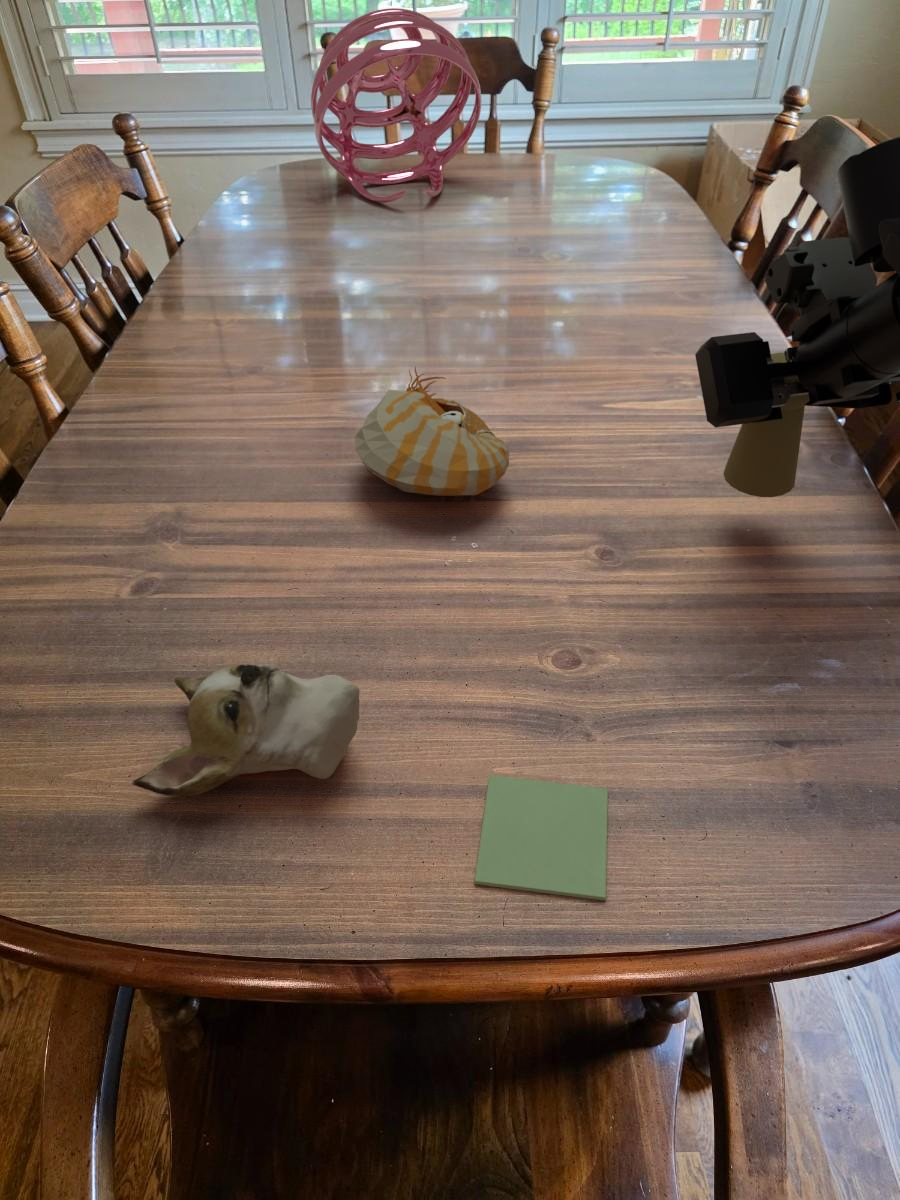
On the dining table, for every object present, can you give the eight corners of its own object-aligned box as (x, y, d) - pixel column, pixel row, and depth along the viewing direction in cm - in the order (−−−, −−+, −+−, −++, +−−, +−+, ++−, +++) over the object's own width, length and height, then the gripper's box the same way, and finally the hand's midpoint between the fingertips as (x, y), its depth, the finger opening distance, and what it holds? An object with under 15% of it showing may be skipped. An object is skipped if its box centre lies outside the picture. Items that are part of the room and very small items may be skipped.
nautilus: (372, 413, 97) (506, 421, 97) (342, 518, 80) (505, 529, 80) (371, 344, 92) (512, 353, 92) (339, 442, 75) (512, 453, 75)
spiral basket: (494, 86, 125) (445, -60, 131) (310, 148, 127) (271, 1, 133) (506, 208, 152) (466, 82, 158) (355, 257, 155) (321, 131, 160)
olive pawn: (709, 468, 77) (733, 352, 70) (763, 452, 79) (792, 337, 71) (754, 504, 73) (785, 384, 65) (810, 486, 75) (846, 367, 67)
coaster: (607, 791, 58) (608, 788, 58) (605, 901, 52) (605, 897, 52) (489, 778, 59) (489, 774, 59) (474, 884, 53) (474, 881, 53)
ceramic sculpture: (340, 736, 51) (97, 734, 52) (361, 821, 57) (142, 817, 58) (366, 613, 59) (154, 615, 60) (382, 699, 65) (188, 699, 66)
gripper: (989, 201, 59) (852, 297, 74) (733, 226, 56) (646, 320, 71) (1021, 360, 58) (876, 424, 74) (764, 394, 55) (669, 452, 71)
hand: (768, 402), depth 72 cm, fingers closed on olive pawn, 5 cm apart
